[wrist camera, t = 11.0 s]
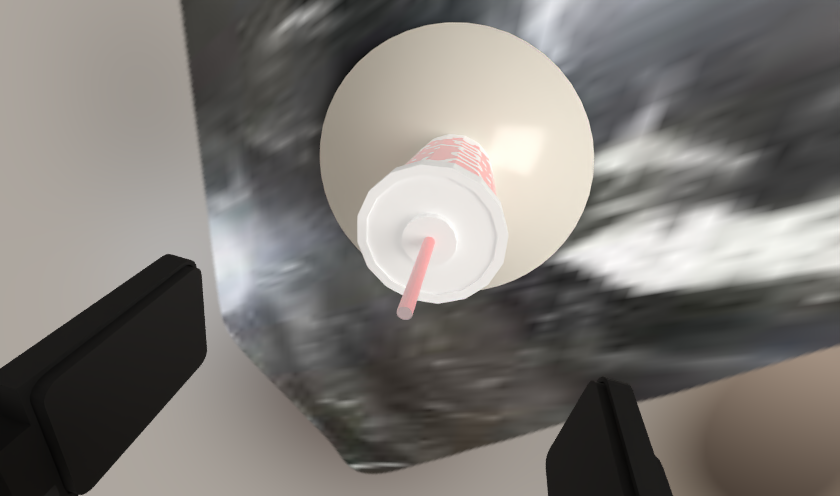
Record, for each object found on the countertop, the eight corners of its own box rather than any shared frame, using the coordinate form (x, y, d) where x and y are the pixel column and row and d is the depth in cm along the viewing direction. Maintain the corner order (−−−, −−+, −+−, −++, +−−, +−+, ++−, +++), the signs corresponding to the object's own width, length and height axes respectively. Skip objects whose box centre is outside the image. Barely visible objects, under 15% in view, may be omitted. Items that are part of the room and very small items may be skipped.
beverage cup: (529, 168, 24) (558, 312, 11) (459, 240, 27) (422, 418, 14) (445, 95, 23) (380, 169, 10) (381, 178, 26) (271, 313, 13)
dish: (342, -9, 22) (334, -11, 21) (640, 62, 22) (647, 64, 21) (316, 247, 30) (309, 255, 29) (535, 308, 29) (536, 318, 28)
